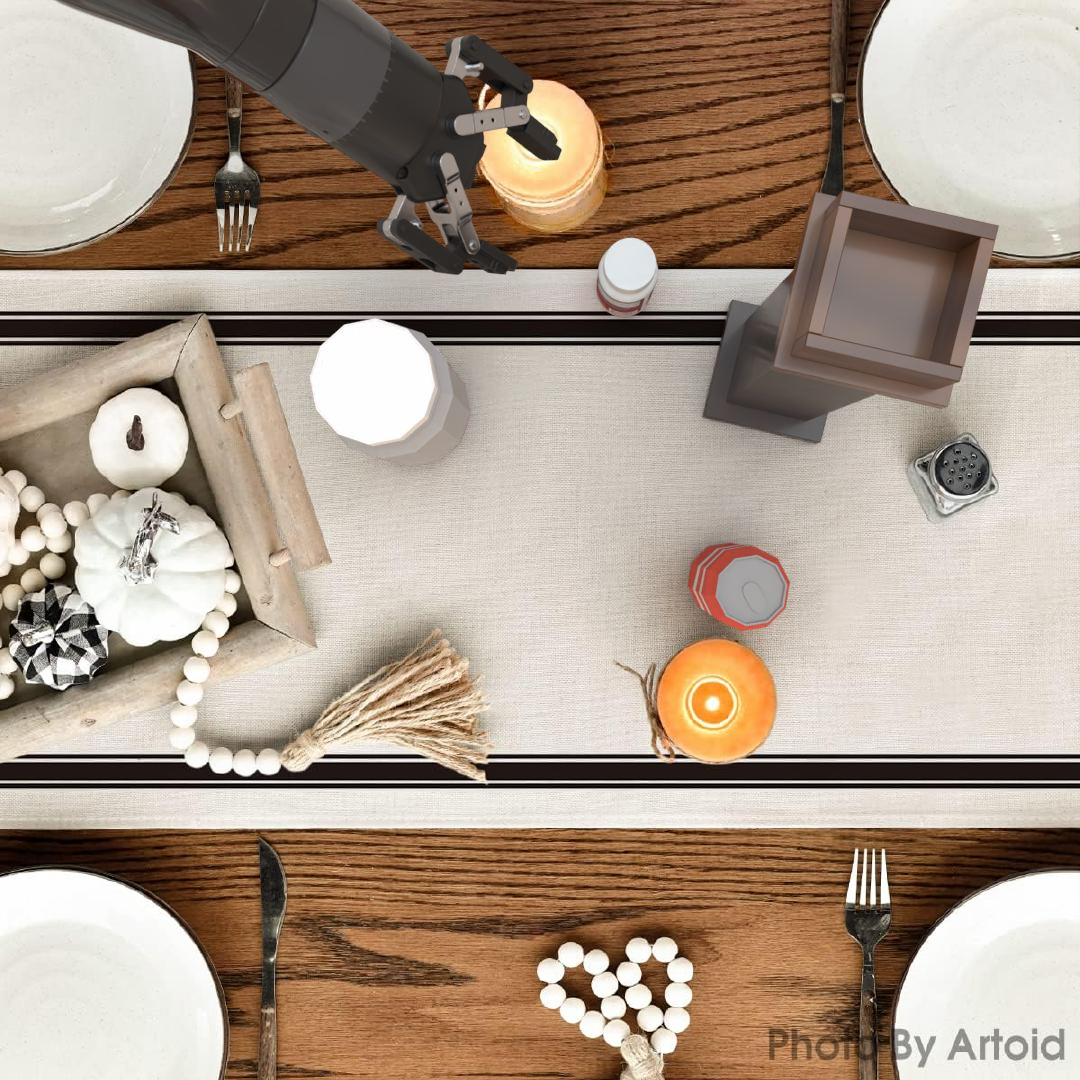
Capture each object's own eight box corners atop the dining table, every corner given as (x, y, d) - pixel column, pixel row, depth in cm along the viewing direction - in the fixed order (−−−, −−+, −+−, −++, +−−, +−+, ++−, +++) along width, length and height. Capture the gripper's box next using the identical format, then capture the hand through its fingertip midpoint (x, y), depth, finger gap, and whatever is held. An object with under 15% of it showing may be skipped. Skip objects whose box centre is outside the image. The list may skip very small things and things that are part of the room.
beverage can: (708, 628, 79) (734, 648, 67) (674, 562, 79) (693, 570, 67) (772, 596, 79) (809, 610, 67) (738, 529, 79) (768, 532, 67)
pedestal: (729, 302, 79) (810, 197, 53) (844, 328, 78) (983, 236, 52) (701, 417, 79) (769, 369, 53) (816, 444, 79) (940, 409, 53)
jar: (491, 437, 79) (469, 414, 61) (389, 487, 80) (338, 479, 62) (441, 334, 79) (404, 281, 61) (339, 385, 80) (273, 347, 62)
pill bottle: (623, 250, 79) (630, 218, 70) (663, 290, 79) (674, 263, 70) (583, 290, 79) (585, 263, 71) (623, 329, 79) (629, 308, 71)
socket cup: (810, 197, 53) (831, 171, 49) (983, 236, 52) (1018, 213, 48) (769, 369, 53) (785, 357, 49) (940, 409, 53) (971, 400, 49)
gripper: (335, 192, 54) (528, 308, 65) (424, -43, 53) (603, 115, 64) (278, 191, 59) (465, 298, 70) (358, -22, 58) (534, 120, 70)
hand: (531, 211), depth 67 cm, fingers open, 8 cm apart
